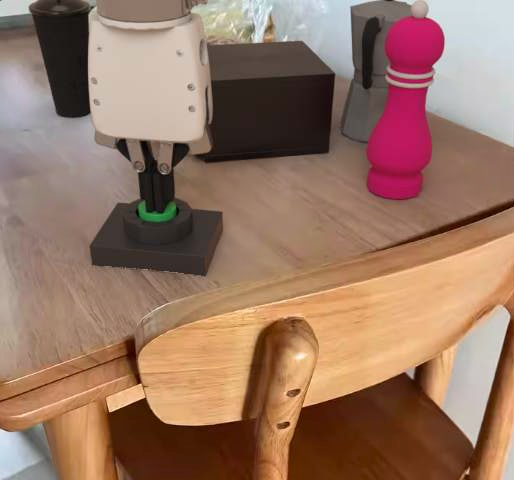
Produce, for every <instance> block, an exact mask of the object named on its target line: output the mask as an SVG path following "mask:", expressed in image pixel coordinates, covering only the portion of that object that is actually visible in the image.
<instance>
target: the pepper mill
mask: <svg viewBox="0 0 514 480" xmlns="http://www.w3.org/2000/svg"><path fill="white" fill-rule="evenodd" d="M411 5H412V6H411V9H410V12H411V15H412V16H408V17H404V18H402V19H400V20H398V21H397V22H395V23H394V24H393V25H392V26H391V28H390V29H389V31H388V33H387V36H386V39H385V53H386V56H387V57H388V59H389V60H390V63H391V64H389V65H388V66H387V75H386V77H385V79H386V81H387V82H389V88H388V97H387V102H386V106H385V108H384V111H383V114H382V115H381V117H380V119H379V121H378V123H377V124H376V126H375V128H374V129H373V131H372V133H371V135H370V138H369V140H368V143H367V145H366V151H365V154H366V158H367V161H368V163H369V164H370V165H371V167H370V168H369V169H368V171H367V178H366V188H367V189H368V190H369V192H371V193H372V194H373V195H376V196H378V197H381V198H384V199H387V200H408V199H412V198H414V197H416V196H418V195H419V194H420V193H421V192H422V188H423V184H424V183H423V181H424V174H423V173H422V171H423V170H425V169H426V168H427V167H428V165H429V164H430V162H431V160H432V157H433V156H432V155H433V154H432V153H433V141H432V135H431V130H430V127H429V123H428V119H427V113H426V105H427V95H428V91H429V87H430V86H432V85H433V84H434V81H435V79H434V76H435V74H436V69H435V68H434V65H435V64H436V63H437V62H438V61H439V60H440V59H441V58H442V57H443V54H444V50H445V44H446V40H445V33H444V31H443V28H442V26H441V25H440V23H438V22H437V21H435V20H434V19H432V18H431V17H427V15H428V13H429V4H428V3H427V2H426V0H416V1H414V2H413V3H412V4H411ZM425 16H426V17H425Z"/></svg>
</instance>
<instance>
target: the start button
mask: <svg viewBox="0 0 514 480" xmlns="http://www.w3.org/2000/svg"><path fill="white" fill-rule="evenodd" d="M138 210H139V218H141V219H143V220H145V221H154V222H161V221H167V220H170V219H172V218H174V217H176V216H177V212H176V204H175V203H174V202H169V204H168V205H167V207H166V209H165V211H164V213H163V214H160V213H157V212H156V211H153V212H152V213H148V212H146V206H145V201H143V202H141V203H140V204H139V206H138Z"/></svg>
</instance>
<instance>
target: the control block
mask: <svg viewBox="0 0 514 480" xmlns="http://www.w3.org/2000/svg"><path fill="white" fill-rule="evenodd" d="M143 201H145V200H142V199H141V198H140V197H139V198H138V199H136V200H133V201H132V202H117V203H116V205H115V206H114V208H112V210H111V212H110V213H109V214H108V216H107V218H106V219H105V221H104V223H103V224H102V226H101V227H100V229H99V230H98V232H97V233H96V235H95V236H94V238H93V240H92V241H91V242H90V244H89V252H90V260H91V265H92V266H93V265H95V266H94V267H103V266H110V267H109V268H113V267H123V268H122V269H124V268H125V267H126V268H136V269H138V268H139V269H148V270H150V269H151V270H156V271H169V272H178V273H184V274H183V275H185V274H194V275H193V276H196V275H201V276H200V277H206V276H205V275H207V273H208V271H209V268H210V265H211V262H212V260H213V258H214V255H213V254H215V251H216V249H217V247H218V244H219V241H220V239H221V236H222V233H223V231H224V222H223V221H224V218H223V217H224V213H223V211H222V210H210V209H209V210H207V209H197V208H192V207H191V206H190V204H189V203H188V202H187V201H185V200H182V199H180V198H178V197H176V196H175V197H174V200H173V202H174V203H175V204H176V212H177V216H176V217H174V218H172V219H170V220H167V221H161V222H154V221H145V220H143V219H141V218H139V210H138V206H139V204H140V203H141V202H143ZM216 246H217V247H216ZM96 265H97V266H96ZM111 266H112V267H111Z"/></svg>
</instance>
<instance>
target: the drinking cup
mask: <svg viewBox="0 0 514 480" xmlns="http://www.w3.org/2000/svg"><path fill="white" fill-rule="evenodd" d="M90 11H91V4H90V3H89V2H87V1H86V0H36V1H34V2H32V3H30V4H29V5H28V12H29V13H30V14H31V17H32V20H33V24H34V27H35V32H36V35H37V41H38V43H39V49H40V52H41V56H42V60H43V65H44V68H45V72H46V77H47V79H48V84H49V88H50V89H49V90H50V92H51V96H52V101H53V104H54V108H55V109H54V110H55V112H56V115H58V116H60V117H63V118H81V117H85V116H88V115H90V114H91V110H90V100H89V81H88V47H89V29H90V18H89V17H90V16H89V15H90V14H89V12H90Z"/></svg>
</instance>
